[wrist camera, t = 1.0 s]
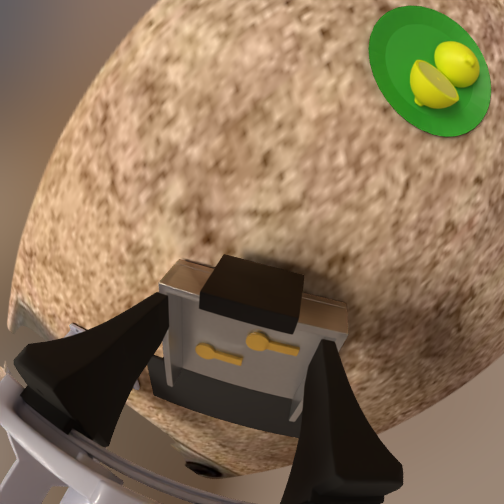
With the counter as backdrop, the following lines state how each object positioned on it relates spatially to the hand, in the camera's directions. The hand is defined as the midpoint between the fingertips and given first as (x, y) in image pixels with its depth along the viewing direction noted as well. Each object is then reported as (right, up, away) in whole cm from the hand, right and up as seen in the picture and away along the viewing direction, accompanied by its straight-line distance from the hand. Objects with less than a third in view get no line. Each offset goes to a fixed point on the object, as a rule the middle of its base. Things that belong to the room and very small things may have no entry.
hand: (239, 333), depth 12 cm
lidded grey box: (0, -2, +9) cm, 9 cm away
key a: (-2, -5, +10) cm, 11 cm away
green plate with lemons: (+11, +14, -2) cm, 18 cm away
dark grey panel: (-2, -13, +15) cm, 20 cm away
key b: (+2, -3, +8) cm, 9 cm away
